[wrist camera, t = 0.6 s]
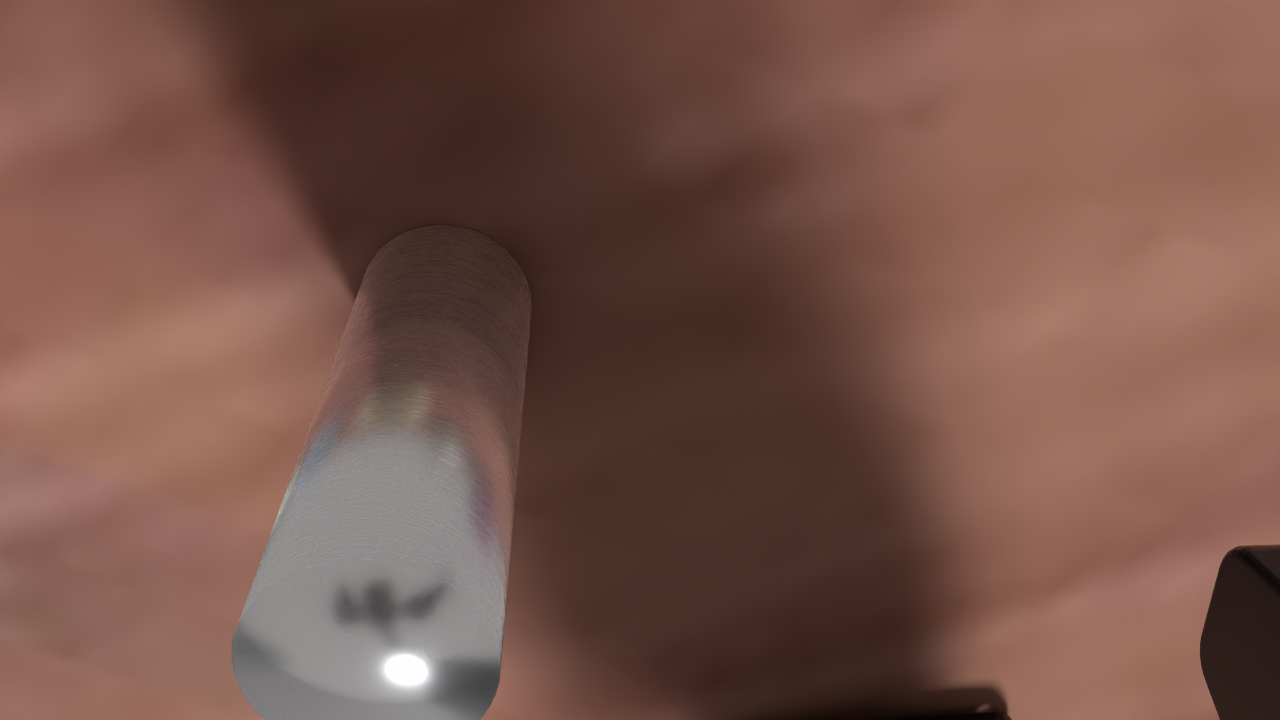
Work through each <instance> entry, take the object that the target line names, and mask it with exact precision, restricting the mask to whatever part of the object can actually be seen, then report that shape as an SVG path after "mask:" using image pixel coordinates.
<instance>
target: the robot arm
mask: <svg viewBox="0 0 1280 720" xmlns="http://www.w3.org/2000/svg"><path fill="white" fill-rule="evenodd" d="M1200 659H1201V666H1202V671H1203V674H1204V677H1205V680H1206V683H1207V686H1208V689H1209V691H1210V694H1211V697H1212V699H1213V702H1214V705H1215V707H1216V710H1217V713H1218V716H1219V718H1220V720H1280V545H1252V546H1238V547H1235V548H1233V549H1231V550H1230V551H1229V552H1227V554H1226V555H1225V557H1224V558H1223V560H1222V562H1221V565H1220V568H1219V571H1218V575H1217V579H1216V583H1215V586H1214V590H1213V594H1212V598H1211V602H1210V605H1209V609H1208V613H1207V617H1206V620H1205V624H1204V628H1203V632H1202V636H1201V642H1200ZM883 720H1012V719H1011V718H1010V717H1009V716H1007V715H1005V714H1003V713H981V714H965V715H948V716H932V717H916V718H899V719H883Z"/></svg>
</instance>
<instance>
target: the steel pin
mask: <svg viewBox="0 0 1280 720" xmlns="http://www.w3.org/2000/svg"><path fill="white" fill-rule="evenodd" d="M531 309H532V303H531V293H530V288H529V285H528V282H527V278H526V276H525V274H524V272H523V270H522V268H521V267H520V265H519V264H518V262H517V261H516V260H515V259H514V257H513V256H512V255H511V254H510V253H509V252H508V251H507V250H506V249H505V248H504V247H503V246H501V245H500V244H499V243H497V242H496V241H494V240H493V239H491V238H490V237H488V236H486V235H484V234H482V233H479V232H477V231H474V230H471V229H468V228H464V227H460V226H453V225H430V226H423V227H419V228H415V229H412V230H409V231H407V232H404V233H402V234H400V235H398V236H397V237H395V238H393V239H392V240H390V241H389V242H388V243H386V244H385V245H384V246H383V247H382V248H381V249H380V250H379V251H378V252H377V253H376V255H375V256H374V257H373V259H372V260H371V262H370V264H369V265H368V267H367V269H366V272H365V275H364V278H363V280H362V283H361V286H360V289H359V291H358V294H357V297H356V300H355V302H354V305H353V308H352V311H351V314H350V316H349V319H348V322H347V325H346V327H345V330H344V333H343V336H342V338H341V341H340V344H339V347H338V349H337V352H336V355H335V358H334V360H333V363H332V366H331V369H330V371H329V374H328V377H327V380H326V382H325V385H324V388H323V391H322V394H321V396H320V399H319V402H318V405H317V407H316V410H315V413H314V416H313V418H312V421H311V424H310V427H309V429H308V432H307V435H306V438H305V440H304V443H303V446H302V449H301V451H300V454H299V457H298V460H297V463H296V465H295V468H294V471H293V474H292V476H291V479H290V482H289V485H288V487H287V490H286V493H285V496H284V498H283V501H282V504H281V507H280V509H279V512H278V515H277V518H276V520H275V523H274V526H273V529H272V532H271V534H270V537H269V540H268V543H267V545H266V548H265V551H264V554H263V556H262V559H261V562H260V565H259V567H258V570H257V573H256V576H255V578H254V581H253V584H252V587H251V589H250V592H249V595H248V598H247V601H246V603H245V606H244V609H243V612H242V614H241V617H240V620H239V623H238V625H237V628H236V631H235V634H234V638H233V644H232V664H233V669H234V674H235V677H236V679H237V682H238V685H239V687H240V689H241V691H242V692H243V694H244V696H245V698H246V699H247V700H248V702H249V703H250V704H251V706H252V707H253V708H254V710H255V711H256V712H257V713H258V714H259V715H260V716H261V717H262V718H263V719H264V720H480V719H481V718H482V716H483V715H484V713H485V712H486V711H487V709H488V708H489V706H490V704H491V703H492V701H493V699H494V697H495V694H496V691H497V688H498V685H499V678H500V670H501V659H502V647H503V636H504V624H505V612H506V601H507V589H508V577H509V566H510V554H511V542H512V531H513V519H514V507H515V496H516V484H517V472H518V461H519V449H520V437H521V426H522V414H523V403H524V391H525V379H526V368H527V356H528V344H529V333H530V321H531Z"/></svg>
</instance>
